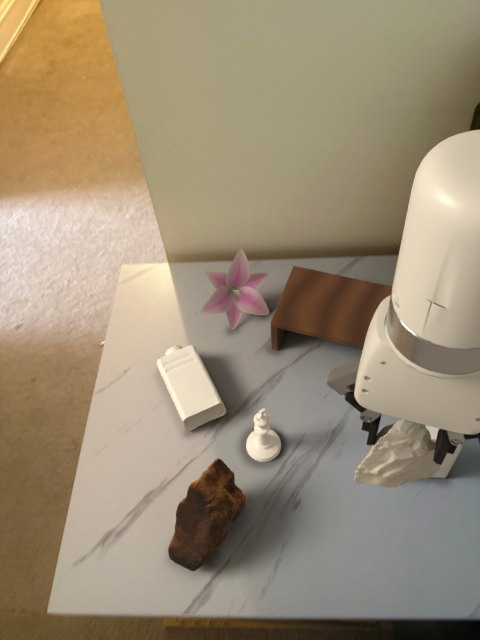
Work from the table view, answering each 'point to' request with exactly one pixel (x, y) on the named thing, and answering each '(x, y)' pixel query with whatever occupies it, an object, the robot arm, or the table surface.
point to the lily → (236, 291)
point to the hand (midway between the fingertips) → (405, 439)
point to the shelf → (327, 307)
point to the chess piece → (263, 439)
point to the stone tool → (399, 456)
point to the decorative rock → (205, 516)
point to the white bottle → (190, 386)
